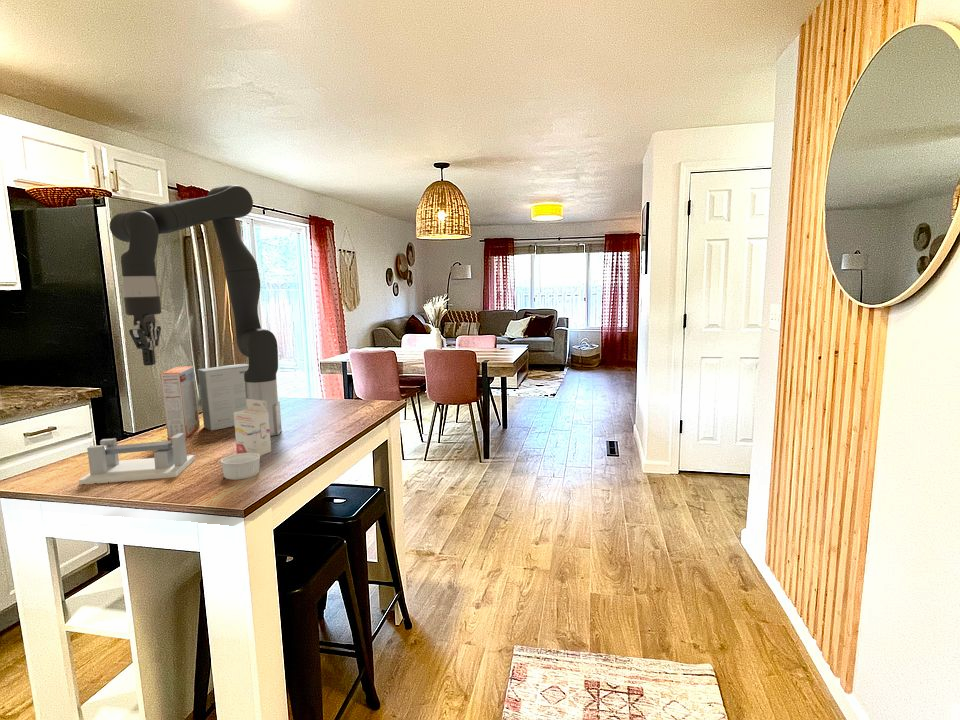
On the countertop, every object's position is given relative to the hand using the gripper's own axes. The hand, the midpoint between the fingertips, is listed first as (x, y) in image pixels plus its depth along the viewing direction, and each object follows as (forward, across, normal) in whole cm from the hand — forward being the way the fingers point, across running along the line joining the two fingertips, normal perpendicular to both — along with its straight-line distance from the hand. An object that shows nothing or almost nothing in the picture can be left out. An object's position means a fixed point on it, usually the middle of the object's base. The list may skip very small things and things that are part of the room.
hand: (149, 364), depth 131 cm
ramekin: (+27, -11, -22) cm, 36 cm away
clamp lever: (+22, -1, +5) cm, 22 cm away
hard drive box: (+27, +44, -6) cm, 52 cm away
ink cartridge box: (+27, +8, -21) cm, 35 cm away
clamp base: (+27, -1, +4) cm, 27 cm away
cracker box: (+27, +36, +6) cm, 45 cm away
